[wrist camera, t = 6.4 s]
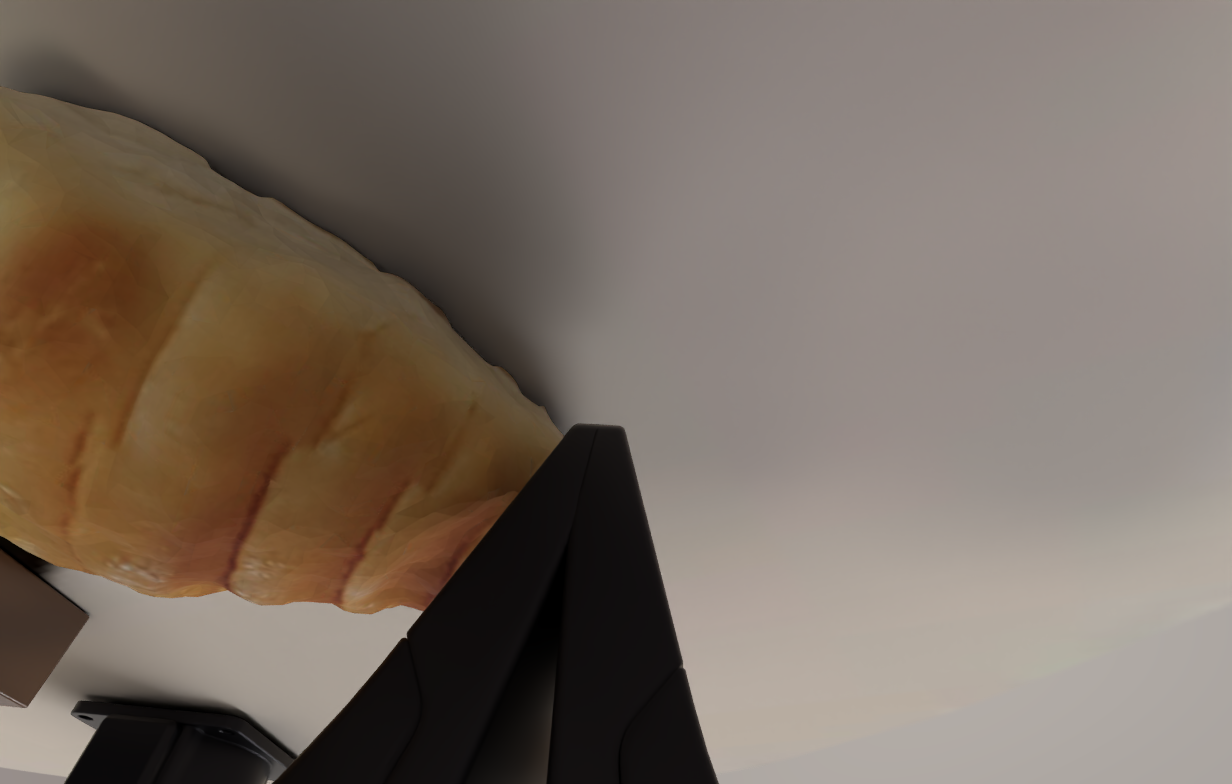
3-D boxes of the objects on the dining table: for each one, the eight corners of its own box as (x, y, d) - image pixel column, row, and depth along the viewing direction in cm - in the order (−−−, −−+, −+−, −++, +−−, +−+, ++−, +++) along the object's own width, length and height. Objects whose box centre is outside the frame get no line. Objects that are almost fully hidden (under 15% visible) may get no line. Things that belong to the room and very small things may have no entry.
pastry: (692, 380, 10) (678, 632, 7) (508, 561, 14) (458, 758, 12) (-49, -5, 7) (-510, 175, 4) (9, 369, 12) (-204, 571, 9)
